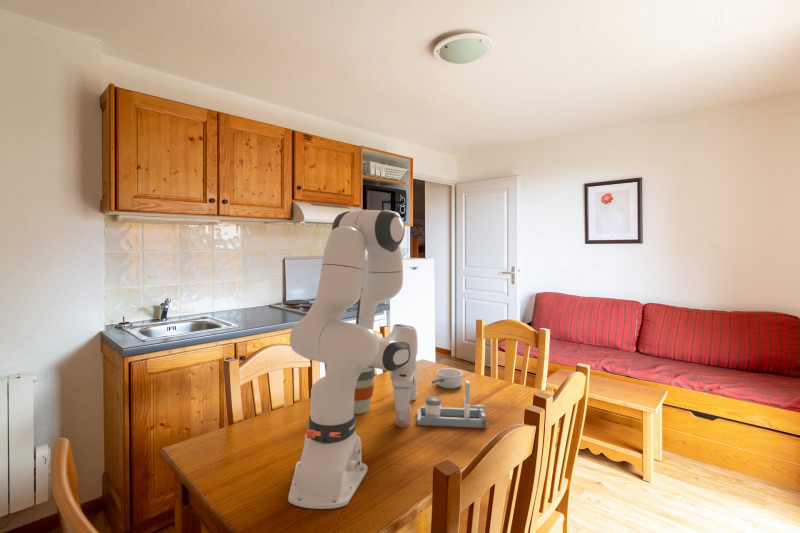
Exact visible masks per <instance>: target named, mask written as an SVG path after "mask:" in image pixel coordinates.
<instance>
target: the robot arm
mask: <svg viewBox="0 0 800 533" xmlns="http://www.w3.org/2000/svg"><path fill="white" fill-rule="evenodd" d="M404 238H405V223H404V220H403V218H402V217H401V216H400V214H399V212H396V211H392V210H390V209H383V210H376V209H375V210H374V209H360V210H353V211H350V210H347V211H345V212H342V213H339V214H338V215H337V216H336V217H335V218H334V220H333V222H332V226H331V231H330V233H329V236H328V237H327V241H326V245H325V248H324V251H323V256H322V262H321V269H320V274H319V275H320V276H319V281H318V286H317V291H316V295H315V298H314V300H313V303H312V305H311V306H310V308H309V310H308V312H307V313H306V314H305V315H304V317H302V318H301V319H299V320H298V321H297V322H296V323H295V324H294V325H293V327H292V329H291V331H290V334H289V345H290V347H291V350H292V351H293V352H294V353H296V355H299V356H301V357H303V358H304V359H307V360H310V361H315V362H319V363H322V364H325V366H326V372H325V375H324V376H322V377H321V378H319V379H317V380H316V381H315V383H314V384H313V385H312V387H311V390H310V415H309V416H308V423H307V429H306V434H305V435H304V445H303V449H302V453H301V454H302V455H300V457H299V461H297V462H296V464H295V468H294V471H293V472H294V473H293V476H292V481H291V483H290V487H289V488H290V489H289V492H288V498H287V501H288V502H289V503H290V504H292V505H293V506H297V507H301V508H305V509H313V510H314V509H316V510H319V509H320V510H325V509H327V510H328V509H331V510H332V509H336V508H337V509H338V508H341V507H344V506H347V505H348V504H349V502H350V500H351V499H352V498H353V496H354V494H355V493H356V492H357V489H358V488H359V486H360V485H361V483H362V481H363V479H364V478H365V476H366V475H367V472H368V471H369V469H368V467H369V466H368V465H367V464H366V463H364V462H362V438H361V437H360V435H359V434H358V433H357V432H356V422H357V421H356V420H357V419H356V414H354V394H355V386H356V382H357V380H358V378H359V376H360V374H361V373H362V371H363V370H364V369H366V368H367V367H369V366H371V367H374V368H375V369H378V370H383V371H385V372H389V373H390V374H389V375H390V380H391V387H393V398H394V408H395V409H396V412H399V419H400V420H404V419H405V413H406V412H407V410H408V405H409V397H410V391H411V387H412V386H413V383H414V382H415V380H416V379H417V380H418V361H417V355H418V352H419V351H418V344H419V343H418V332H417V329H416V328H415V327H414V326H412V325H408V324H402V323H397V324H393V326H392V330H391V332H390V333H389V334H388V335H386V336H385V337H382V336H378V335H377V333H376V332H375V331H374V325H375V317H376V310H377V307H378V305H380V304H381V303H383V302H386V301H388V300H391V299H393V298H394V297H395V296H397V295H398V294H399V293H400V292H401V290H402V288H403V282H404V270H403V269H404V268H403V267H404V266H403V265H404V264H403V255H402V249H401V248H402V247H401V244H402V241H403V240H404ZM366 251H367V254H366ZM366 255H367V256H366ZM365 259H366V260H365ZM365 262H366V263H365ZM365 264H366V278H365V283H364V286H363V280H364V272H365ZM355 304H357V310H356V317H355V318H356V319H355V323H353V322H346V321H342V319H343V316H344V314H345V313H346V311H347V309H349V308H350V307H351V306H354V305H355ZM395 409H394V410H395Z"/></svg>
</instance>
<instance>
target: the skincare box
mask: <svg viewBox="0 0 800 533" xmlns="http://www.w3.org/2000/svg"><path fill="white" fill-rule="evenodd" d="M417 380H418V378H417V379H416V380H415V382H414V383H413V386H412V387H411V391H410V398H411V401H414V400H415V401H416V399H417V389H418V388H417Z"/></svg>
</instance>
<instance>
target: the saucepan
mask: <svg viewBox="0 0 800 533" xmlns="http://www.w3.org/2000/svg"><path fill="white" fill-rule="evenodd" d="M435 373H436V379H434V380H432V381H431V383H432V385H433V384H437V385H438V386H440V388H443V389H447V390H448V389H457V388H459V387H462V385H463V374H464V373H463V371H461V370H458V369H457V368H447V367H445V368H444V367H443V368H440V369H439V368H438V369H437V370H436V371H435Z"/></svg>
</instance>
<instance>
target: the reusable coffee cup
mask: <svg viewBox="0 0 800 533" xmlns="http://www.w3.org/2000/svg"><path fill="white" fill-rule="evenodd" d="M375 369H376V368H374V367H371V366H369V367H367V368H366V369H364V370H363V371H362V373H361V374H360V376H359V378H358V380H357V382H356V386H355V394H354V414H355V415H360V414H364V413H367V412H369V411H370V407H371V403H372V402H371V401H372V397H373V396H374V388H375V381H374V380H375V377H376V370H375Z"/></svg>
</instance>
